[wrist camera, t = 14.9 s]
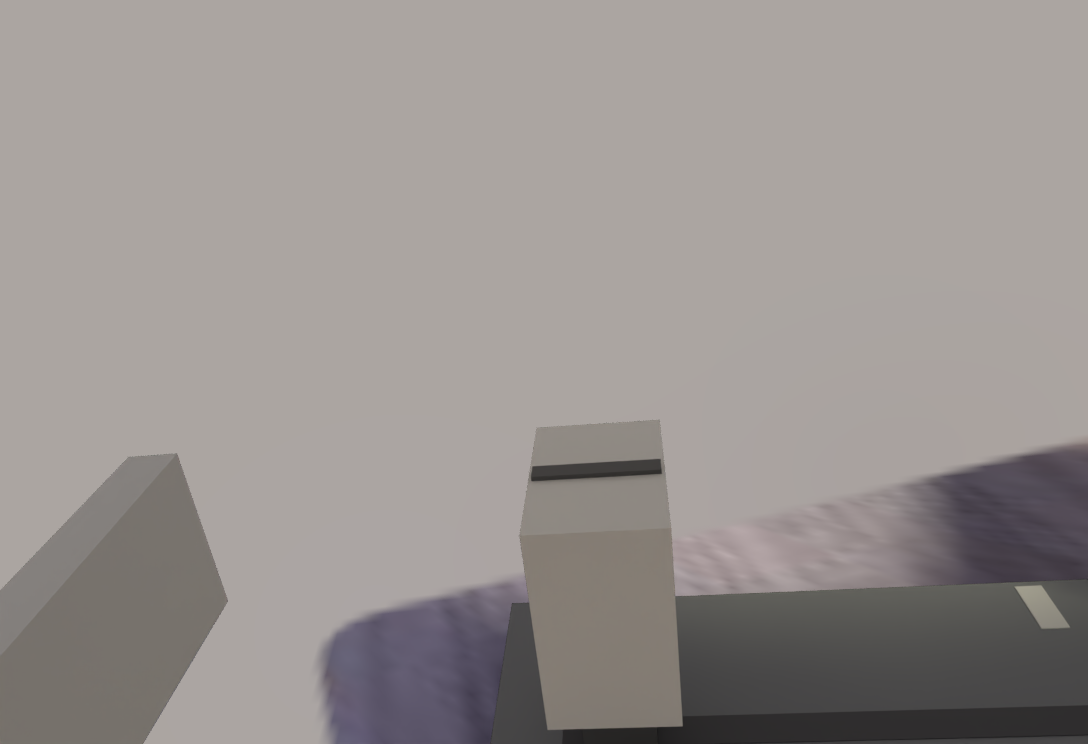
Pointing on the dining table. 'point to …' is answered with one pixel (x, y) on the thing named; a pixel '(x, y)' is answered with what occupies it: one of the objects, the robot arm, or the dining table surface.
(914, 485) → the dining table surface
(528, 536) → the fader knob
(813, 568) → the dining table surface
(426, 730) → the dining table surface
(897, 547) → the dining table surface
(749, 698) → the console
